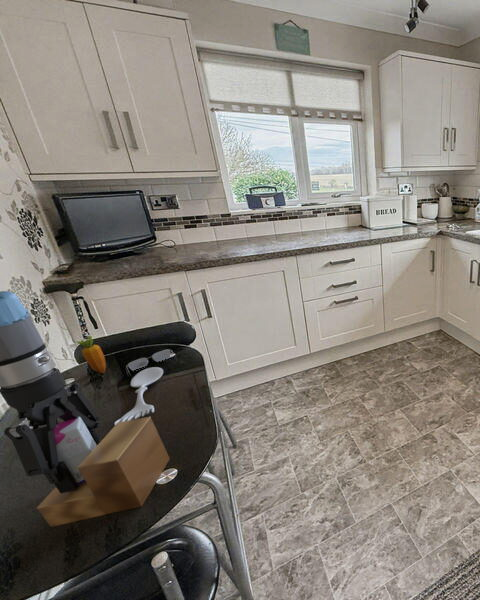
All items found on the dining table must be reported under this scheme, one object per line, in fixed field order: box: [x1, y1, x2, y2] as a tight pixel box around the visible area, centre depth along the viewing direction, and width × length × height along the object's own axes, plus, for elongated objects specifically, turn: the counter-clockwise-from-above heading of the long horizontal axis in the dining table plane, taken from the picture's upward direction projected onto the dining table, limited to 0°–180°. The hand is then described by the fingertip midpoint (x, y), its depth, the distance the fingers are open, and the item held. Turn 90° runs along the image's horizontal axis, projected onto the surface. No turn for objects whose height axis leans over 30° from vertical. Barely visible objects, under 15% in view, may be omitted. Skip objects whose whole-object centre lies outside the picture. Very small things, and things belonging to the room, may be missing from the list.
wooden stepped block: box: [36, 416, 171, 528], centre depth 67 cm, size 16×12×12 cm
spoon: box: [114, 366, 164, 426], centre depth 100 cm, size 9×32×4 cm, turn 32°
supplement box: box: [47, 417, 97, 485], centre depth 64 cm, size 6×6×12 cm
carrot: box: [76, 335, 107, 375], centre depth 115 cm, size 5×5×15 cm
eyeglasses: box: [125, 349, 178, 378], centre depth 117 cm, size 14×8×4 cm, turn 136°
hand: (85, 472), depth 66 cm, fingers closed on supplement box, 8 cm apart
